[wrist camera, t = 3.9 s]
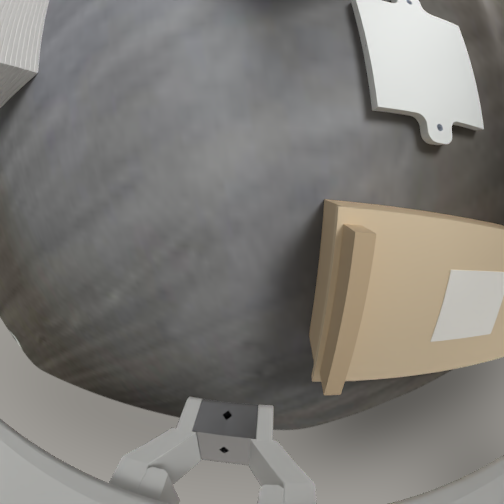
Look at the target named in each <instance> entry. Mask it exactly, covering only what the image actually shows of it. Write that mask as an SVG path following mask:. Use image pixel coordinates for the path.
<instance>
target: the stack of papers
mask: <svg viewBox="0 0 504 504" xmlns="http://www.w3.org/2000/svg"><path fill="white" fill-rule="evenodd" d="M48 3H49V0H0V108H1V107H2V106H3V105H4V104H5V103H6V102H7V101H8V100H9V99H10V98H11V97H12V96H13V95H14V94H15V93H16V92H17V91H18V90H19V89H21V88H22V87H23V86H24V85H25V84H26V83H27V82H28V81H29V80H31V79H32V78H33V77H34V76H35V75H36V74H38V66H39V56H40V47H41V40H42V33H43V27H44V22H45V17H46V12H47V7H48Z"/></svg>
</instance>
